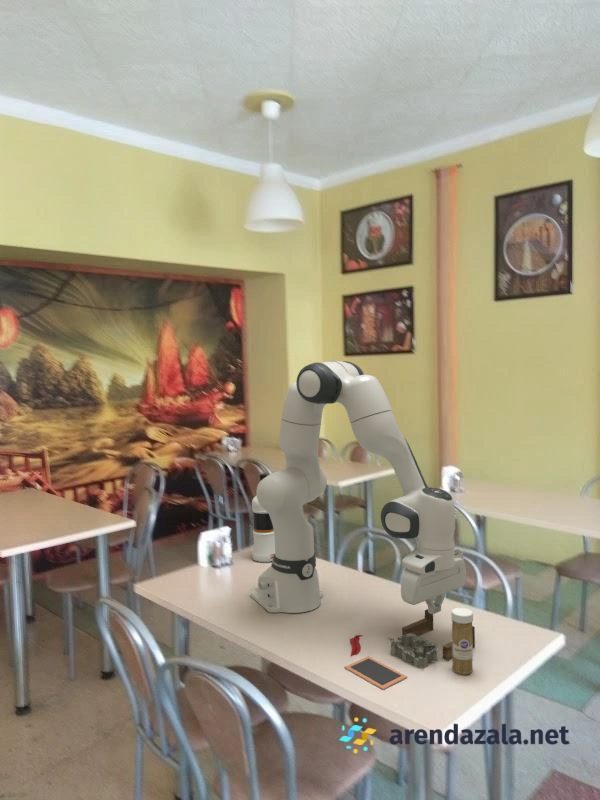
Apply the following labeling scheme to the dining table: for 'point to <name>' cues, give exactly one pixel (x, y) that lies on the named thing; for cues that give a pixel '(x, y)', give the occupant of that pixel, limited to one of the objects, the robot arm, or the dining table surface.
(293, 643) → the dining table surface
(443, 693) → the dining table surface
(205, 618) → the dining table surface
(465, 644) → the sprinkles bottle
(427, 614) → the walled channel
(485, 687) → the dining table surface
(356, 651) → the cayenne pepper
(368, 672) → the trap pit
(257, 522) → the vodka
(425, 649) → the egg carton
